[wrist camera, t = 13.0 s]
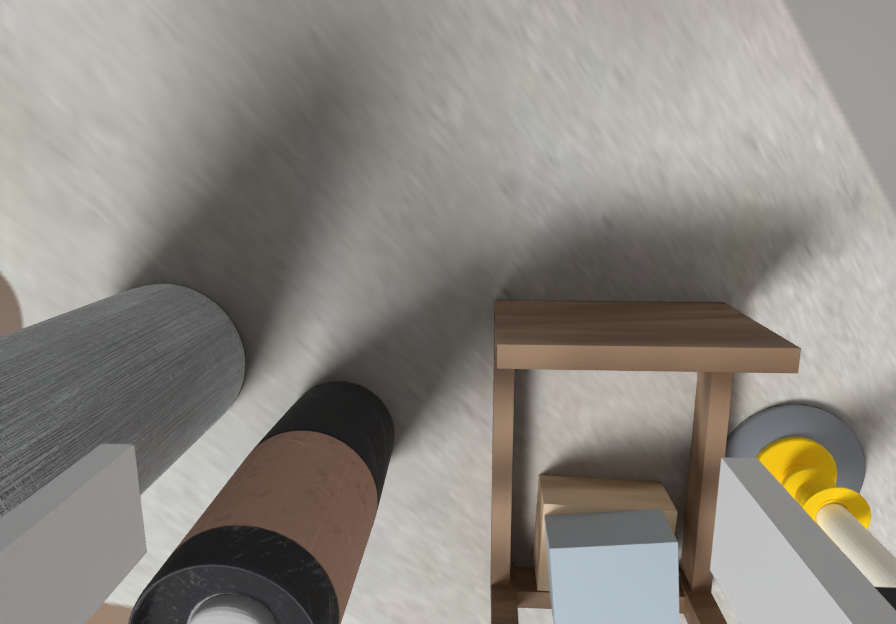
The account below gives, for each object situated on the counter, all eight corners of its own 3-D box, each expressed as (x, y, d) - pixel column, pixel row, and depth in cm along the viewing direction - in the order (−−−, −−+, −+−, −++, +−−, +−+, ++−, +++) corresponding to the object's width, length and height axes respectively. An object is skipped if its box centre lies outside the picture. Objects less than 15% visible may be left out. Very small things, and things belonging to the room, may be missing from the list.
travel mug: (414, 399, 42) (354, 602, 23) (378, 499, 44) (293, 765, 25) (303, 360, 42) (148, 531, 23) (271, 461, 44) (101, 700, 25)
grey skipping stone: (722, 402, 41) (726, 406, 41) (869, 405, 41) (875, 409, 40) (709, 530, 43) (713, 535, 43) (849, 534, 43) (854, 539, 42)
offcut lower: (538, 473, 43) (543, 503, 40) (660, 479, 43) (677, 511, 39) (532, 552, 45) (537, 590, 41) (650, 560, 44) (666, 598, 41)
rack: (494, 300, 41) (497, 344, 31) (724, 302, 40) (800, 348, 30) (490, 582, 45) (491, 698, 35) (696, 589, 44) (755, 709, 35)
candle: (849, 481, 41) (1058, 667, 26) (777, 525, 42) (938, 729, 27) (804, 420, 41) (993, 575, 26) (732, 466, 42) (872, 642, 26)
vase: (218, 265, 41) (-254, 451, 15) (267, 410, 43) (-72, 799, 17) (75, 302, 42) (-600, 536, 16) (129, 441, 44) (-390, 853, 18)
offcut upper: (544, 515, 40) (549, 548, 36) (661, 508, 39) (677, 542, 36) (549, 595, 41) (555, 635, 38) (663, 590, 40) (679, 630, 37)
